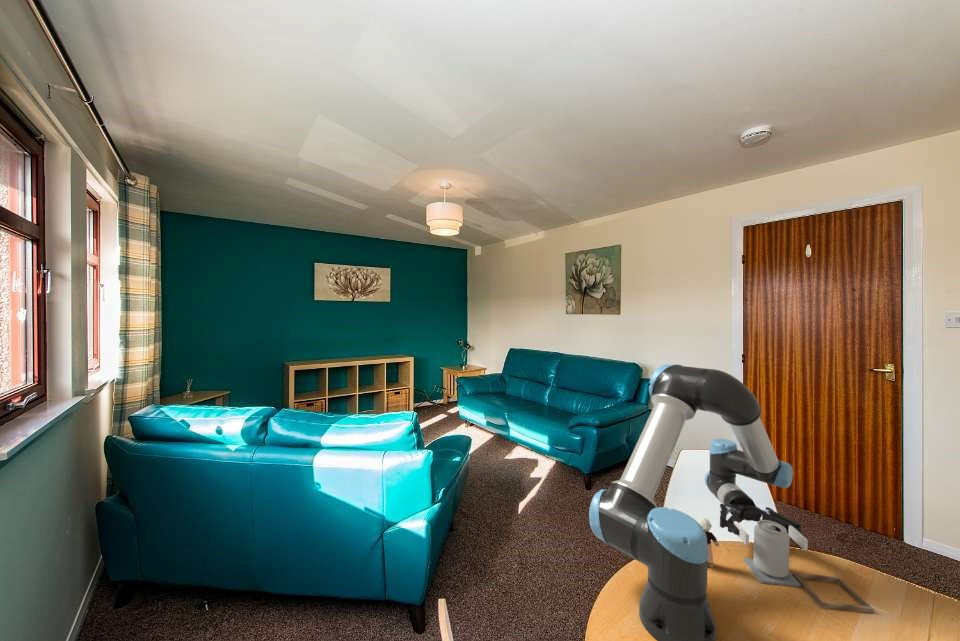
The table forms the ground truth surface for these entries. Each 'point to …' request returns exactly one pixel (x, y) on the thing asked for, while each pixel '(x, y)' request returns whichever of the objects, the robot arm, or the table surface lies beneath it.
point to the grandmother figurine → (708, 538)
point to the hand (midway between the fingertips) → (776, 542)
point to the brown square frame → (829, 605)
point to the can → (771, 548)
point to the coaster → (764, 578)
